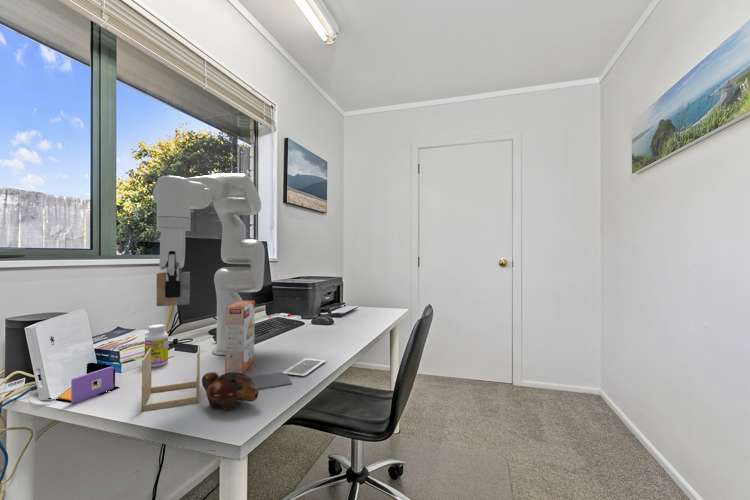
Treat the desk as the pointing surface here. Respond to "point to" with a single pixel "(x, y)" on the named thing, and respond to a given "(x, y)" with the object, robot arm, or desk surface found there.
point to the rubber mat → (270, 380)
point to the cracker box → (239, 336)
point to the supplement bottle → (157, 345)
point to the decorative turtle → (228, 389)
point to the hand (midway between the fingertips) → (173, 295)
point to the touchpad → (304, 367)
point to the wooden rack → (165, 386)
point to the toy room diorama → (91, 383)
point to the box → (184, 290)
